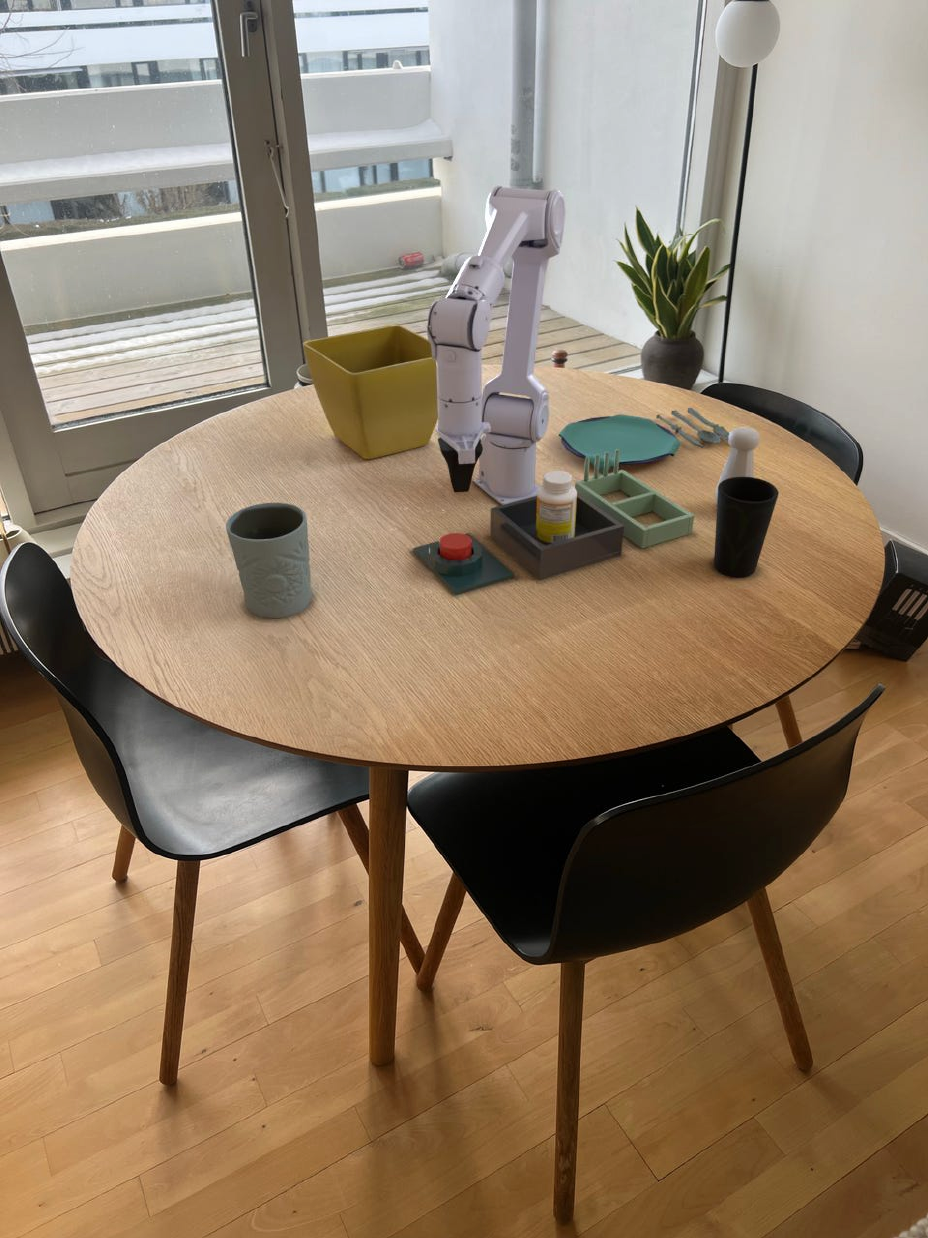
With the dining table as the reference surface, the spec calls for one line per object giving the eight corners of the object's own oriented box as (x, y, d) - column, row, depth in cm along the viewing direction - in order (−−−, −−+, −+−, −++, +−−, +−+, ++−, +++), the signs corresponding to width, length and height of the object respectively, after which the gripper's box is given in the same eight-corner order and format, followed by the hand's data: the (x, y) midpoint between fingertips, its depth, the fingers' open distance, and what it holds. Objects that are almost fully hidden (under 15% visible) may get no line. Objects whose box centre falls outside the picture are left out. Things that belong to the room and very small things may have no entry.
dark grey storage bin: (490, 537, 138) (490, 508, 135) (568, 515, 143) (569, 486, 140) (539, 580, 128) (540, 550, 125) (621, 555, 133) (624, 525, 130)
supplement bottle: (550, 527, 138) (553, 464, 132) (581, 539, 135) (586, 475, 129) (527, 542, 135) (529, 477, 129) (559, 555, 132) (562, 489, 126)
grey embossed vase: (281, 630, 119) (269, 548, 112) (222, 607, 123) (207, 526, 116) (332, 592, 126) (323, 513, 119) (274, 572, 130) (263, 494, 123)
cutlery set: (541, 436, 167) (541, 423, 166) (687, 411, 176) (688, 399, 174) (593, 482, 152) (594, 469, 150) (750, 452, 160) (752, 440, 159)
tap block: (412, 552, 134) (411, 537, 133) (468, 536, 138) (468, 521, 136) (454, 596, 125) (454, 580, 123) (513, 578, 128) (514, 562, 127)
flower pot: (402, 411, 177) (398, 322, 167) (456, 446, 164) (455, 351, 154) (310, 434, 169) (300, 341, 159) (359, 473, 155) (351, 374, 146)
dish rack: (573, 499, 147) (576, 458, 143) (621, 486, 150) (625, 446, 146) (641, 548, 134) (646, 505, 130) (692, 533, 138) (698, 490, 134)
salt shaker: (751, 520, 141) (766, 440, 133) (712, 517, 142) (725, 436, 134) (750, 502, 145) (764, 423, 138) (712, 499, 146) (724, 421, 139)
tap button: (434, 550, 130) (433, 537, 129) (462, 542, 132) (462, 529, 131) (448, 564, 127) (448, 551, 126) (477, 556, 129) (477, 543, 128)
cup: (731, 587, 126) (745, 507, 119) (694, 561, 131) (706, 484, 124) (775, 573, 129) (791, 494, 122) (737, 548, 134) (751, 471, 127)
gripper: (499, 414, 115) (498, 512, 123) (482, 372, 127) (482, 465, 135) (441, 417, 114) (444, 516, 122) (430, 375, 126) (433, 468, 134)
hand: (460, 489), depth 128 cm, fingers closed
